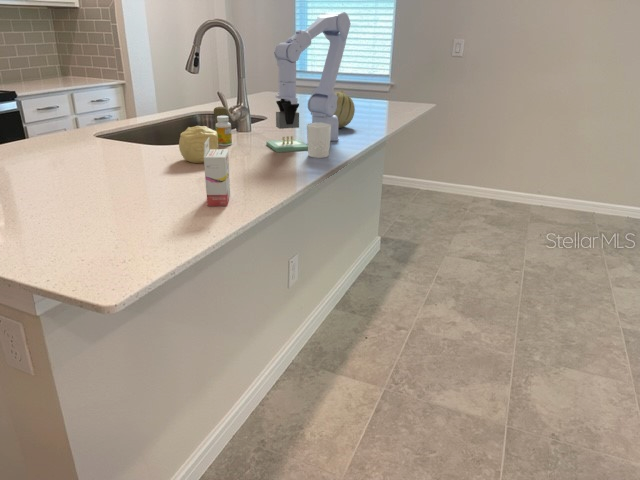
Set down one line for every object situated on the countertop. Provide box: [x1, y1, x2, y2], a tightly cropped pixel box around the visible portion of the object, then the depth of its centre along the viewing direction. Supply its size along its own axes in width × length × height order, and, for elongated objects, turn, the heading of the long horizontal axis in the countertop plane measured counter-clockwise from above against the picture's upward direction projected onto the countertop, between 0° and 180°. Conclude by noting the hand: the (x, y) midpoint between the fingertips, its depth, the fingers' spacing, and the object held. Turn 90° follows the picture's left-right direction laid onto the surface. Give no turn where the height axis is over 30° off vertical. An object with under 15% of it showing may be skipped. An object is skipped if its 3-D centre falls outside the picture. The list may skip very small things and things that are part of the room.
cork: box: [213, 106, 229, 131], centre depth 185 cm, size 6×6×11 cm
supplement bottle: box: [214, 115, 233, 147], centre depth 173 cm, size 5×5×10 cm
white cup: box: [306, 122, 331, 159], centre depth 161 cm, size 8×8×10 cm
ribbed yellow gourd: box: [333, 89, 356, 129], centre depth 205 cm, size 15×15×15 cm
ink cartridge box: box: [203, 137, 231, 207], centre depth 117 cm, size 9×5×15 cm, turn 5°
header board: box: [266, 135, 308, 153], centre depth 172 cm, size 12×12×4 cm
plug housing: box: [275, 111, 300, 130], centre depth 169 cm, size 7×4×5 cm, turn 112°
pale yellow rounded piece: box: [178, 125, 219, 164], centre depth 152 cm, size 11×12×11 cm
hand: (287, 123), depth 170 cm, fingers closed on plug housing, 4 cm apart
